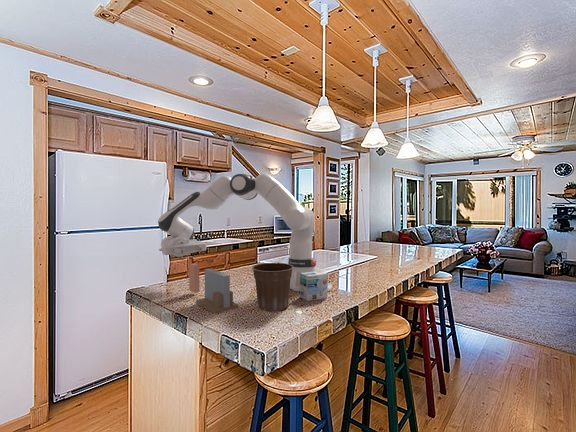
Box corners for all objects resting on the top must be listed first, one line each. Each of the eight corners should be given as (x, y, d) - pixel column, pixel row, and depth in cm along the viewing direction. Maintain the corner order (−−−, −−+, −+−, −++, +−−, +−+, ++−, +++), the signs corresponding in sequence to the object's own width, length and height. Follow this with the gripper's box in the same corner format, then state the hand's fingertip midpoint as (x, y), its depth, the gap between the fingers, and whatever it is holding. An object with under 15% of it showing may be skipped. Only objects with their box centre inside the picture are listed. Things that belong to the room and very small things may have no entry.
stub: (189, 290, 147) (189, 263, 147) (194, 289, 149) (194, 263, 148) (194, 292, 143) (193, 265, 143) (199, 291, 145) (199, 264, 144)
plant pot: (259, 316, 119) (259, 272, 118) (247, 303, 134) (247, 264, 133) (299, 310, 125) (300, 268, 125) (283, 298, 140) (283, 261, 139)
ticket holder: (196, 303, 133) (196, 270, 133) (218, 298, 140) (218, 267, 139) (215, 313, 121) (214, 277, 120) (238, 308, 128) (238, 273, 127)
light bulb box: (307, 301, 137) (307, 276, 136) (299, 297, 143) (299, 272, 142) (328, 298, 142) (328, 273, 141) (319, 294, 147) (320, 270, 147)
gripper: (157, 242, 151) (168, 245, 141) (198, 238, 164) (211, 241, 154) (157, 256, 151) (168, 259, 141) (198, 251, 165) (211, 254, 154)
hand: (191, 250), depth 147 cm, fingers open, 8 cm apart
